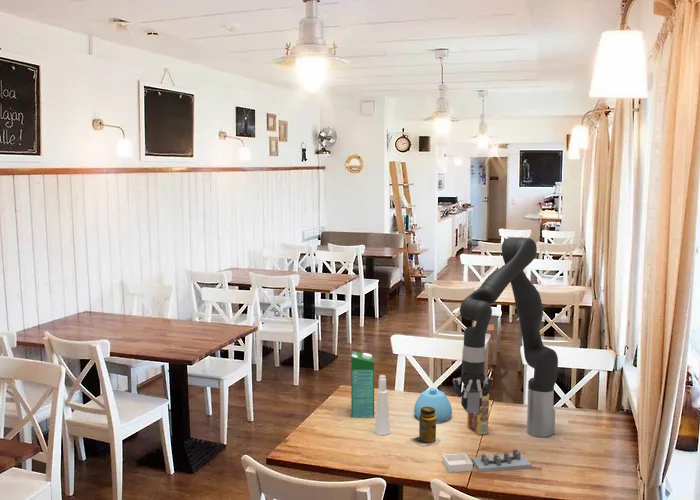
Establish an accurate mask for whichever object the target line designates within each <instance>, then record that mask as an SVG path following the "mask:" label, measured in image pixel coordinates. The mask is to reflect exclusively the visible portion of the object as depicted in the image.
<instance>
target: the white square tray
mask: <svg viewBox="0 0 700 500" xmlns="http://www.w3.org/2000/svg"><path fill="white" fill-rule="evenodd" d="M441 459H442V461H441V462H442V465H444V467H445V469H446V470H447V472H448V473H449V474H450V473H452V474H453V473H462V472H464V473H465V472H473V469H474V466H473V465H474V464H473V463H472V459H470V457H469V456H468V455H467V453H465V452H461V453H450V454H449V453H447V454H442V455H441Z"/></svg>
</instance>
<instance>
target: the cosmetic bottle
mask: <svg viewBox="0 0 700 500" xmlns="http://www.w3.org/2000/svg"><path fill="white" fill-rule="evenodd" d="M376 393H377V395H376V415H375V425H374V434H375V435H378V436H387V435H390V434H391V427H390V421H389V403H388V402H389V401H388V399H389V398H388V390H387V377H386V375H384V374H380V375H379V378H378V390H377V392H376Z"/></svg>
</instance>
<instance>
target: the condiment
mask: <svg viewBox="0 0 700 500" xmlns="http://www.w3.org/2000/svg"><path fill="white" fill-rule="evenodd" d="M420 414H421V415H420V417H419V418H418V420H419V425H418V426H419V429H418V430H419V433H418V434H419V435H418V436H417V437H413V438H410V440H411V441H412V442H414V443H416V444H417V445H419V446H421V447H426V446H429V445H433V444H436V443H440V442H441V440H440V439H437V423H436V416H435V409H434V408H432V407H423V408H421V413H420Z"/></svg>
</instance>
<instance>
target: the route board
mask: <svg viewBox="0 0 700 500" xmlns="http://www.w3.org/2000/svg"><path fill="white" fill-rule="evenodd" d="M471 462H472V463H473V465H474V467H475V468H476V470H478V472H479V473H482V472H483V473H485V472H495V471H498V472H499V471H507V470H508V471H509V470H510V471H511V470H519V469H521V470H522V469H532V463H531V462H530V461H529V460H528V458H526V457H525V456H524V455H523V454H522V453H521V452H520V451H518V448H512V454H510V453H509V452H508V451H504V452H503V455H498V454H497V453H496V454H493V455H491V456H487V455H486V454H485V453H481V454H480V456H479V457H471Z"/></svg>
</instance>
